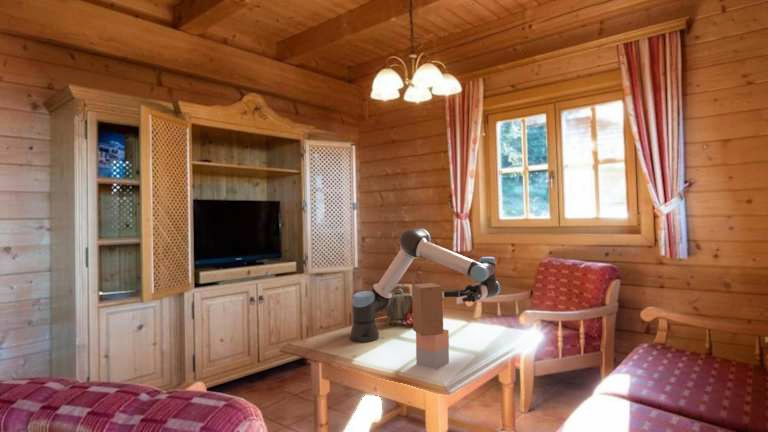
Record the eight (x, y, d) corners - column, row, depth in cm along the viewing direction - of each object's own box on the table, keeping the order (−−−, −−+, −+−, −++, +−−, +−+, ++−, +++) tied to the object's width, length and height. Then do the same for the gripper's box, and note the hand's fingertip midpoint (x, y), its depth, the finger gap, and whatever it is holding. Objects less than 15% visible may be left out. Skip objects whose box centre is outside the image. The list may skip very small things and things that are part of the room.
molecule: (431, 316, 273) (436, 293, 271) (443, 324, 265) (449, 300, 262) (398, 321, 259) (403, 295, 256) (410, 329, 250) (415, 303, 247)
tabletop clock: (405, 320, 268) (403, 278, 267) (414, 323, 260) (413, 280, 260) (385, 324, 259) (384, 281, 259) (394, 327, 252) (393, 283, 252)
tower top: (416, 347, 191) (415, 331, 191) (429, 342, 199) (429, 326, 199) (435, 352, 185) (435, 335, 185) (448, 346, 193) (448, 330, 192)
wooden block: (443, 333, 187) (442, 286, 187) (421, 336, 184) (420, 287, 184) (434, 328, 197) (432, 282, 196) (412, 330, 194) (411, 284, 193)
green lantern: (394, 319, 271) (393, 286, 271) (397, 315, 281) (396, 283, 281) (410, 319, 269) (409, 286, 269) (413, 315, 279) (412, 283, 279)
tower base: (416, 364, 191) (416, 348, 191) (429, 358, 199) (429, 342, 199) (436, 369, 185) (435, 352, 185) (449, 362, 192) (448, 346, 192)
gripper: (497, 303, 201) (467, 311, 187) (455, 296, 220) (425, 303, 207) (497, 287, 201) (466, 293, 187) (455, 281, 220) (424, 287, 207)
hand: (444, 298), depth 197 cm, fingers open, 13 cm apart
